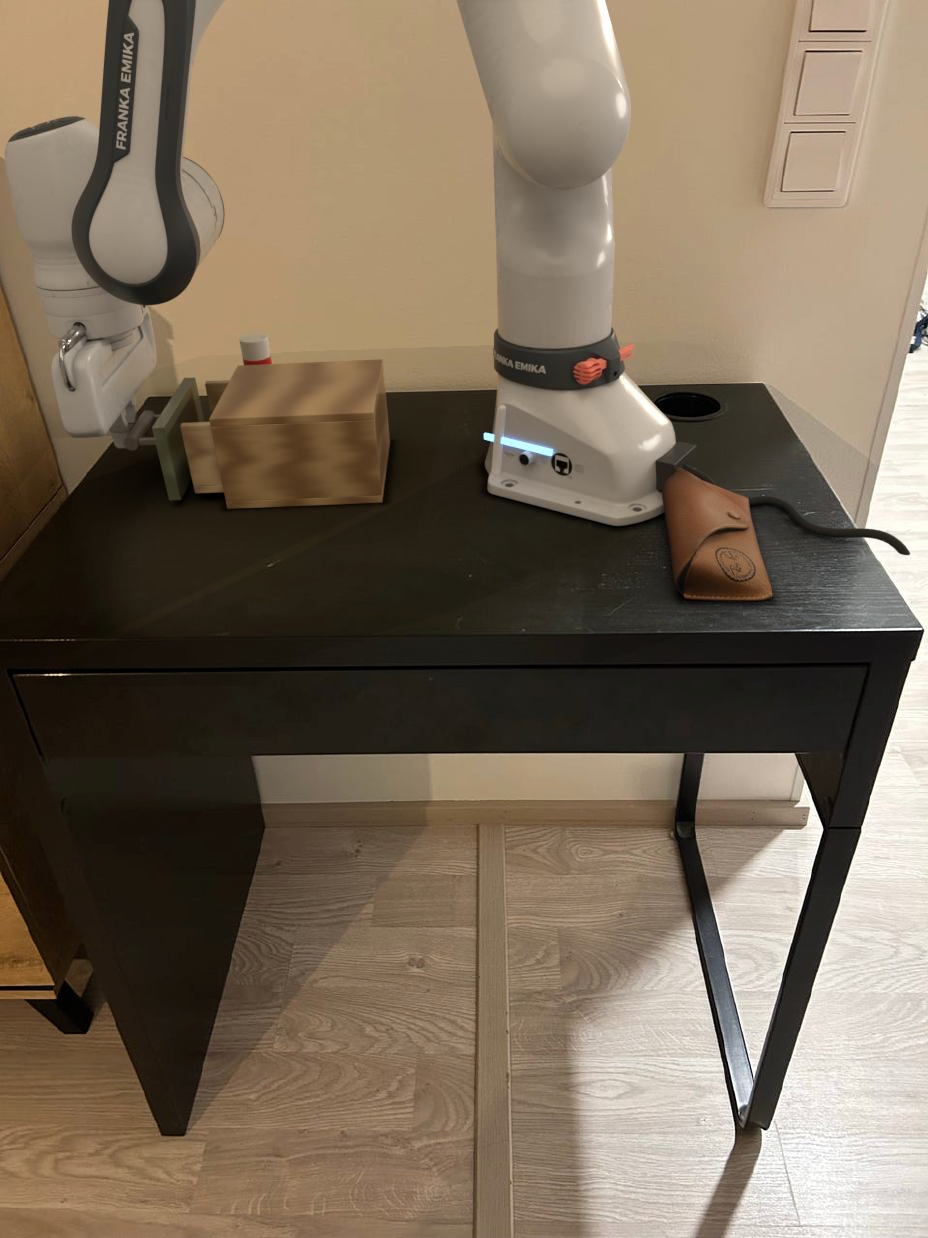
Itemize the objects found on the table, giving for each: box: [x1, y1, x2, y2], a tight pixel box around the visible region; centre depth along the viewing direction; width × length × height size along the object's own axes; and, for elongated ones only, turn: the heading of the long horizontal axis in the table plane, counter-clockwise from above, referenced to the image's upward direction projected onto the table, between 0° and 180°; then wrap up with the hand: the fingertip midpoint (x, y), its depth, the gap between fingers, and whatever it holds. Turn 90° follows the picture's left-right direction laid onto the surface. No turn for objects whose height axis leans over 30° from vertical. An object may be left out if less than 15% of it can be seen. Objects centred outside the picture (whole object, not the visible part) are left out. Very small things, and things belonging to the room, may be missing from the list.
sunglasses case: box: [662, 468, 773, 603], centre depth 85 cm, size 18×7×7 cm
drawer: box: [124, 376, 230, 501], centre depth 99 cm, size 19×13×8 cm
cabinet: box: [208, 358, 391, 510], centre depth 99 cm, size 16×15×10 cm
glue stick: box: [238, 332, 273, 365], centre depth 111 cm, size 3×3×10 cm
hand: (127, 442), depth 99 cm, fingers closed, pressing on drawer
